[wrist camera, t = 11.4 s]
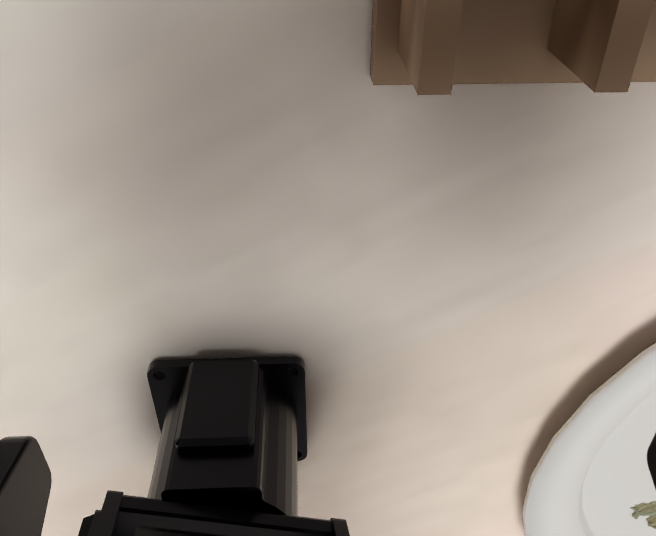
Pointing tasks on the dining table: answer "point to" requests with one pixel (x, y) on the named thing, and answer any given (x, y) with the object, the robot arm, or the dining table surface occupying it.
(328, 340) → the dining table surface
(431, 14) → the dish rack
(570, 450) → the plated food
